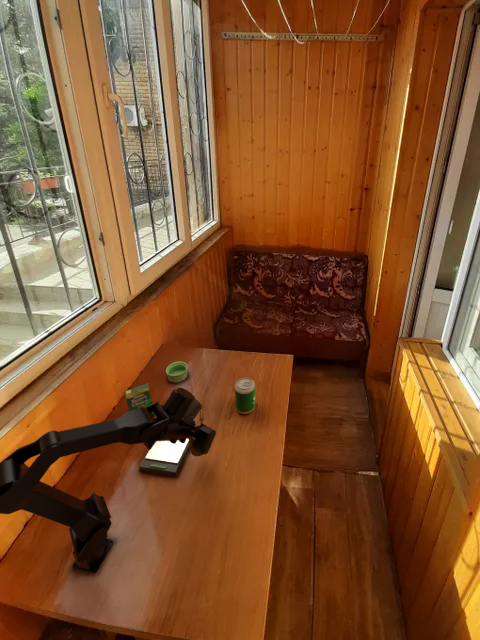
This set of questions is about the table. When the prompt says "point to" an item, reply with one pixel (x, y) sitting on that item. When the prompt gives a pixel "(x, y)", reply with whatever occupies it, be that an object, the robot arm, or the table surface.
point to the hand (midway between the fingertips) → (201, 429)
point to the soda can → (245, 395)
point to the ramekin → (177, 371)
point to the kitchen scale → (165, 458)
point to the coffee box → (138, 397)
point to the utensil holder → (193, 439)
